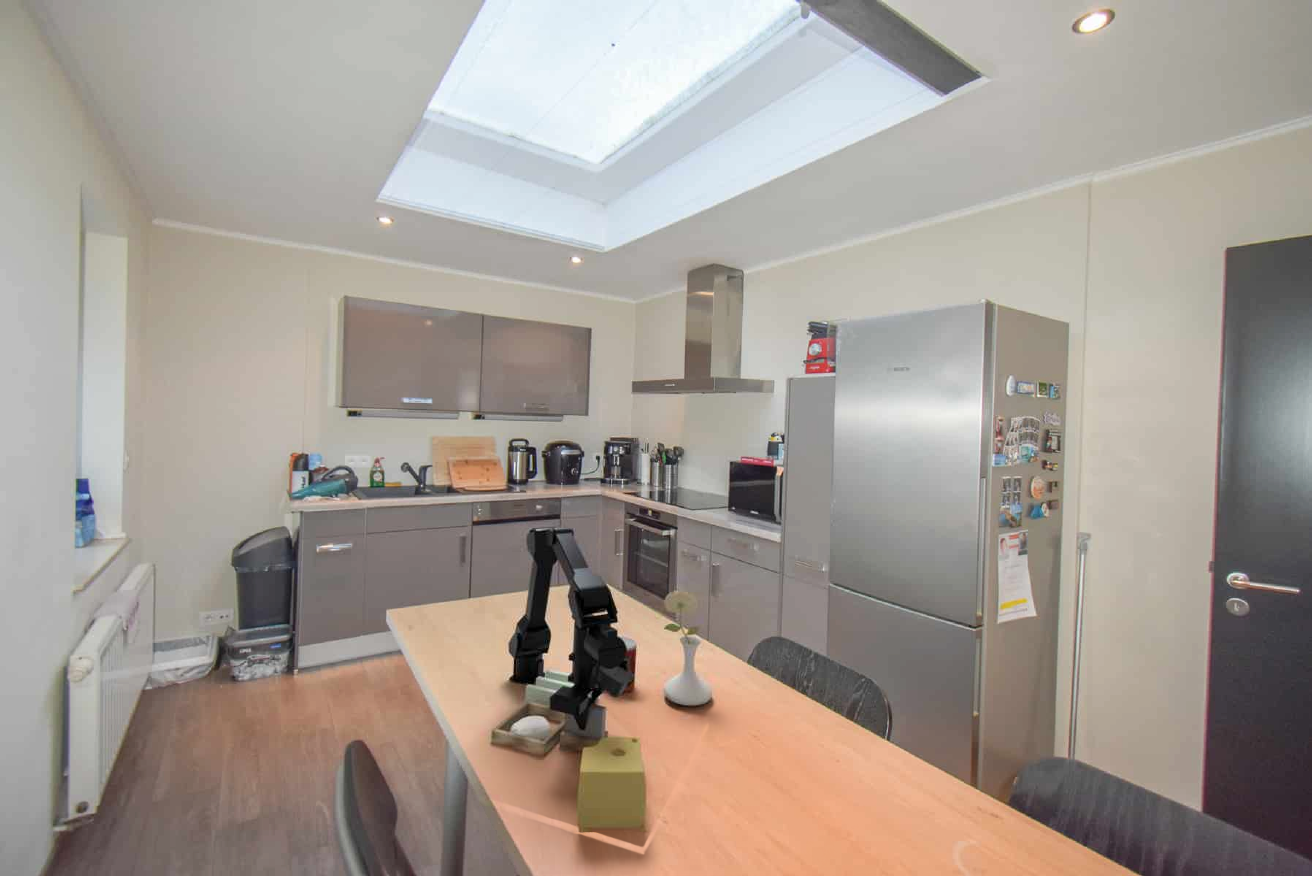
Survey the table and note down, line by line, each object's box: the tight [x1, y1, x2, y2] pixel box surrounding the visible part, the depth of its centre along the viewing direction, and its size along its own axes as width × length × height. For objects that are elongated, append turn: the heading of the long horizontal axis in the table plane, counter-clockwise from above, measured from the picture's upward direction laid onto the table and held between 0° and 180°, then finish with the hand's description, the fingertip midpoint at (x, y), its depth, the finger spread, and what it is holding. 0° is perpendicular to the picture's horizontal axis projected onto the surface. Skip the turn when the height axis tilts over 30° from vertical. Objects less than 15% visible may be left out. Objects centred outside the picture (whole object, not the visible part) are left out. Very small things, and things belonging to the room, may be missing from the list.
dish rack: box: [520, 668, 602, 707], centre depth 127 cm, size 14×11×5 cm
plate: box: [564, 704, 607, 740], centre depth 111 cm, size 8×2×8 cm, turn 70°
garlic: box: [509, 715, 552, 741], centre depth 114 cm, size 8×7×4 cm
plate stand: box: [558, 730, 609, 756], centre depth 111 cm, size 8×6×3 cm
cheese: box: [576, 736, 647, 833], centre depth 93 cm, size 10×11×10 cm
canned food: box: [605, 635, 637, 695], centre depth 136 cm, size 8×8×11 cm
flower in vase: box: [662, 590, 713, 707], centre depth 133 cm, size 13×11×25 cm
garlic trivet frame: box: [490, 701, 565, 757], centre depth 114 cm, size 12×13×3 cm
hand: (584, 727), depth 111 cm, fingers closed on plate, 2 cm apart
